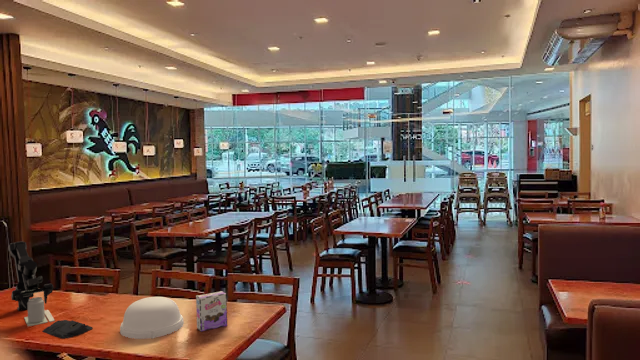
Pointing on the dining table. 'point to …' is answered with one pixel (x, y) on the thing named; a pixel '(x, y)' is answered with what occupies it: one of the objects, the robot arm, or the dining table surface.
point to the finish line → (49, 315)
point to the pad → (34, 323)
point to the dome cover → (151, 318)
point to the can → (36, 310)
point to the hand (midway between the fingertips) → (36, 305)
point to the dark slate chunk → (66, 329)
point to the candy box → (211, 310)
